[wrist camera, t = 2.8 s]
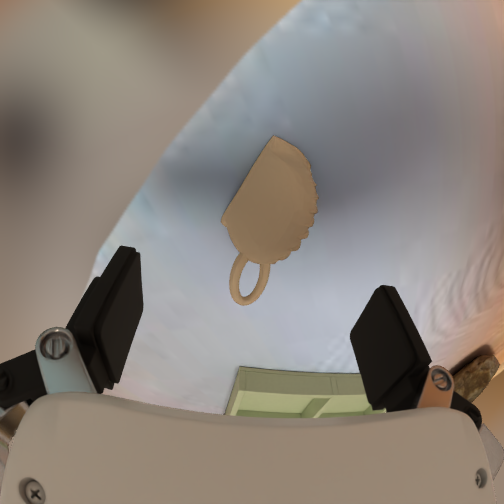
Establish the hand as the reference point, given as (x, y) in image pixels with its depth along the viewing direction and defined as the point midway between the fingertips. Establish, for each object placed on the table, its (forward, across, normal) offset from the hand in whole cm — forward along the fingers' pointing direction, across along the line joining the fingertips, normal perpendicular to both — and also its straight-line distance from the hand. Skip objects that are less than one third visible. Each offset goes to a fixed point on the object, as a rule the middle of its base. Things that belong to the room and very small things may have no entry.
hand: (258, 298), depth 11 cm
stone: (+9, -38, +20) cm, 43 cm away
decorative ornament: (+9, -1, 0) cm, 9 cm away
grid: (+9, -13, +29) cm, 33 cm away
